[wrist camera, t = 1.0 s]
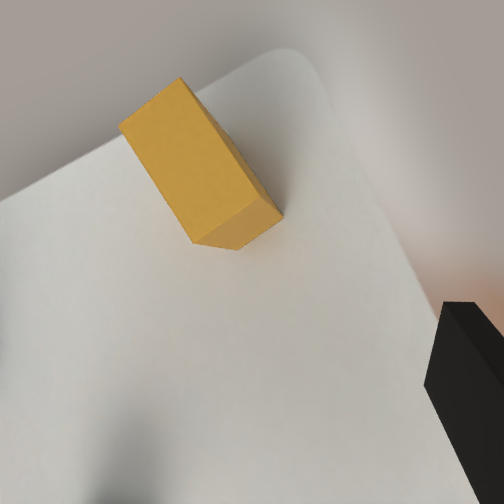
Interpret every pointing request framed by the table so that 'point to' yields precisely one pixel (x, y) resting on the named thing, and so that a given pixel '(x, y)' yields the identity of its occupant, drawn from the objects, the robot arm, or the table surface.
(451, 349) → the robot arm
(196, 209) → the block
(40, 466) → the table surface
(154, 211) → the table surface
